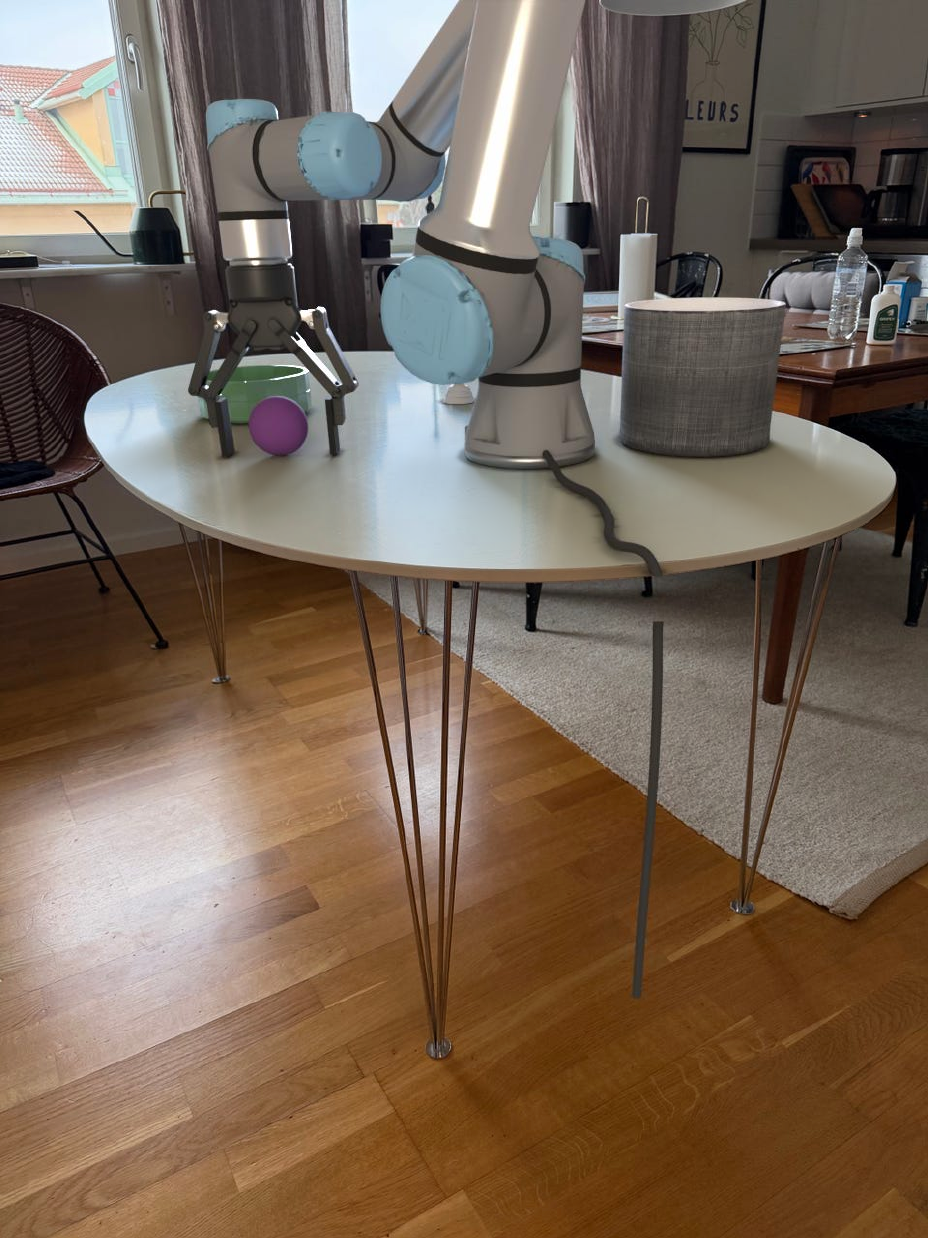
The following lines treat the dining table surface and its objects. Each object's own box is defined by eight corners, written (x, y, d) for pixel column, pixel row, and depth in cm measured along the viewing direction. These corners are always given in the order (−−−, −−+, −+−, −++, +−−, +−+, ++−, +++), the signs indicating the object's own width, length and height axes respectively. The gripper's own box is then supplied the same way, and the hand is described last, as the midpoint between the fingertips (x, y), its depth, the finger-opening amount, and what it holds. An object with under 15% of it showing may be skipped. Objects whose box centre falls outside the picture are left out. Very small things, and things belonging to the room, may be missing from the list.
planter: (603, 428, 112) (608, 300, 105) (735, 422, 113) (748, 295, 106) (641, 462, 96) (649, 313, 89) (795, 454, 97) (814, 306, 90)
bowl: (298, 424, 120) (294, 380, 118) (186, 426, 121) (179, 383, 119) (321, 402, 135) (317, 363, 133) (220, 405, 136) (214, 366, 134)
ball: (304, 461, 101) (297, 401, 98) (245, 462, 101) (237, 402, 98) (316, 447, 107) (310, 390, 104) (261, 448, 107) (253, 391, 105)
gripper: (373, 258, 98) (385, 443, 107) (162, 264, 99) (192, 447, 108) (363, 260, 91) (377, 458, 100) (137, 267, 92) (171, 462, 101)
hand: (281, 453), depth 104 cm, fingers open, 12 cm apart
